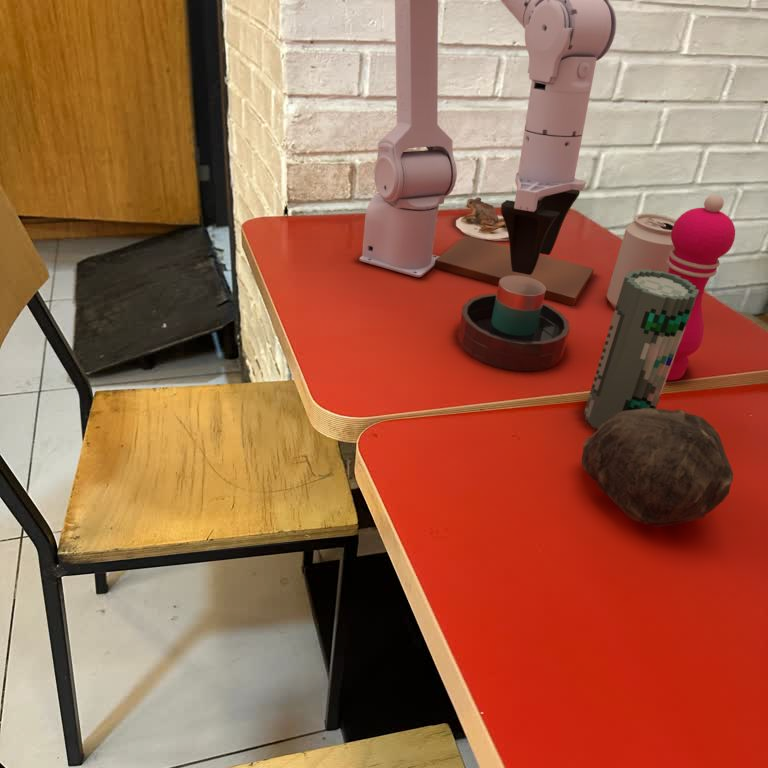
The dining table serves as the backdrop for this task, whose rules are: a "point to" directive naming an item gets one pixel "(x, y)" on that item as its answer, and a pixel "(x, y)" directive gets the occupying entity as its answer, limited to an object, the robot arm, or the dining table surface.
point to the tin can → (517, 308)
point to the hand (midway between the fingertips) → (531, 262)
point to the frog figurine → (483, 222)
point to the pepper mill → (697, 265)
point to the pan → (509, 351)
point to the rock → (659, 465)
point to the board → (496, 263)
